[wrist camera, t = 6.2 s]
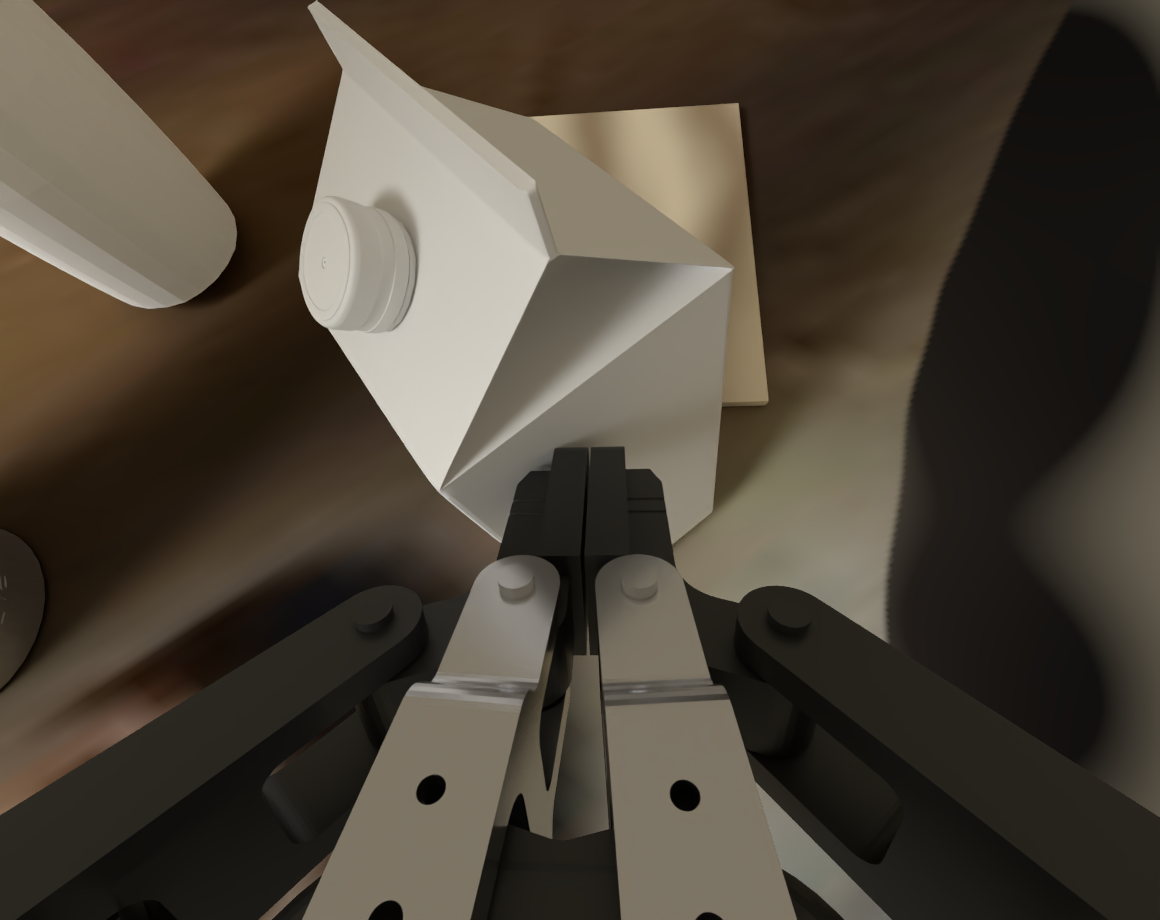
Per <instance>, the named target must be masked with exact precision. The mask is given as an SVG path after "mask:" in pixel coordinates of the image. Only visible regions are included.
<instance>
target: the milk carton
mask: <svg viewBox="0 0 1160 920" xmlns="http://www.w3.org/2000/svg"><path fill="white" fill-rule="evenodd" d="M308 9H309V10H310V12H311V14H312V15H313V17H314V19H315V21H316V23H317V24H318V26H319V28H320V30H321V31H322V33H323V35H324V37H325V39H326V40H327V42H328V44H329V46H330V48H331V49H332V51H333V53H334V55H335V56H336V58H337V60H338V62H339V63H340V65H341V67H342V68H343V71H342V77H341V81H340V85H339V90H338V94H337V99H336V103H335V108H334V113H333V117H332V122H331V126H330V131H329V135H328V140H327V144H326V149H325V154H324V158H323V163H322V167H321V172H320V176H319V181H318V185H317V190H316V194H315V199H314V203H313V208H312V211H311V212H310V215H309V217H308V220H307V222H306V226H305V230H304V233H303V238H302V243H301V251H300V266H299V267H300V268H299V275H298V276H299V280H300V283H301V288H302V292H303V296H304V299H305V302H306V305H307V307H308V309H309V311H310V313H311V315H312V316H313V317H314V318H315V320H316V321H317V322H318V323H320V324H321V325H322V326H324V327H326V328H328V329H329V331H330V332H331V334H332V335H333V337H334V338H335V340H336V341H337V343H338V344H339V346H340V347H341V349H342V351H343V352H344V354H345V355H346V357H347V358H348V360H349V361H350V363H351V364H352V366H353V367H354V369H355V370H356V372H357V373H358V375H359V376H360V378H361V379H362V381H363V382H364V384H365V385H366V387H367V389H368V390H369V392H370V393H371V395H372V396H373V398H374V399H375V401H376V402H377V404H378V405H379V407H380V408H381V410H382V411H383V413H384V414H385V416H386V417H387V419H388V421H389V422H390V424H391V425H392V427H393V428H394V430H395V431H396V433H397V434H398V436H399V437H400V439H401V440H402V442H403V443H404V445H405V446H406V448H407V449H408V451H409V452H410V454H411V455H412V457H413V458H414V460H415V461H416V463H417V464H418V466H419V467H420V468H421V470H422V471H423V473H424V474H425V476H426V477H427V478H428V480H429V481H430V482H431V484H432V485H433V486H434V487H435V489H436V490H437V491H438V492H439V493H440V494H441V495H442V496H443V497H445V498H446V499H447V500H448V501H449V502H450V503H452V504H453V505H454V506H455V507H456V508H458V509H459V510H460V511H461V512H463V513H464V514H465V515H466V516H468V517H469V518H470V519H471V520H473V521H474V522H475V523H476V524H478V525H479V526H480V527H481V528H482V529H484V530H485V531H486V532H487V533H489V534H490V535H491V536H492V537H494V538H495V539H496V540H497V541H499V542H500V543H502V539H503V535H504V532H505V528H506V524H507V521H508V517H509V516H510V510H511V506H512V503H513V499H514V495H515V491H516V488H517V484H518V483H519V482H520V481H521V480H522V479H523V478H524V477H525V476H526V475H527V474H528V473H529V472H530V471H549V470H551V465H552V459H553V454H554V449H555V448H570V447H588V448H589V461H590V454H591V447H615V446H624V447H625V465H626V469H651V471H652V472H653V473H654V474H655V475H656V476H657V477H658V478H659V479H660V480H661V482H662V486H663V492H664V501H665V505H666V514H667V517H668V524H669V530H670V536H671V543H672V544H674V543H675V542H676V541H677V540H679V539H680V538H681V537H682V536H684V535H685V534H686V533H687V532H688V531H690V530H691V529H692V528H693V527H695V526H696V525H697V524H698V523H700V522H701V521H702V520H703V519H704V518H706V517H707V516H708V515H709V514H711V513H712V511H713V502H714V490H715V478H716V466H717V455H718V443H719V431H720V419H721V408H722V396H723V384H724V372H725V360H726V349H727V337H728V325H729V313H730V302H731V290H732V278H733V270H734V266H733V265H731V264H730V263H729V262H728V261H726V260H725V259H724V258H722V257H721V256H720V255H718V254H717V253H716V252H714V251H713V250H712V249H710V248H709V247H708V246H706V245H705V244H704V243H702V242H701V241H700V240H698V239H697V238H695V237H694V236H693V235H691V234H690V233H689V232H687V231H686V230H685V229H683V228H682V227H680V226H679V225H678V224H676V223H675V222H674V221H672V220H671V219H670V218H668V217H667V216H665V215H664V214H663V213H661V212H660V211H659V210H657V209H656V208H655V207H653V206H652V205H650V204H649V203H648V202H646V201H645V200H644V199H642V198H641V197H640V196H638V195H637V194H635V193H634V192H633V191H631V190H630V189H629V188H627V187H626V186H625V185H623V184H622V183H620V182H619V181H618V180H616V179H615V178H614V177H612V176H611V175H610V174H608V173H607V172H605V171H604V170H603V169H601V168H600V167H599V166H597V165H596V164H595V163H593V162H592V161H590V160H589V159H588V158H586V157H585V156H584V155H582V154H581V153H579V152H578V151H577V150H575V149H574V148H573V147H571V146H570V145H569V144H567V143H566V142H564V141H563V140H562V139H560V138H559V137H558V136H556V135H555V134H554V133H552V132H551V131H549V130H548V129H547V128H545V127H544V126H542V125H541V124H540V123H538V122H537V121H535V120H534V119H531V118H528V117H525V116H522V115H518V114H515V113H511V112H508V111H504V110H501V109H498V108H494V107H491V106H487V105H484V104H480V103H477V102H473V101H470V100H467V99H463V98H460V97H456V96H453V95H449V94H446V93H442V92H439V91H436V90H432V89H429V88H425V87H422V86H420V85H419V84H417V83H416V82H415V81H414V80H413V79H411V78H410V77H409V76H408V75H406V74H405V73H404V72H403V71H402V70H400V69H399V68H398V67H397V66H396V65H394V64H393V63H392V62H391V61H389V60H388V59H387V58H386V57H385V56H383V55H382V54H381V53H380V52H379V51H377V50H376V49H375V48H374V47H372V46H371V45H370V44H369V43H368V42H366V41H365V40H364V39H363V38H362V37H360V36H359V35H358V34H357V33H355V32H354V31H353V30H352V29H351V28H349V27H348V26H347V25H346V24H345V23H343V22H342V21H341V20H340V19H339V18H337V17H336V16H335V15H334V14H332V13H331V12H330V11H329V10H328V9H326V8H325V7H324V6H323V5H322V4H320V3H319V2H318V1H317V0H316V1H315V2H314V3H312V4H311V5H309V6H308Z"/></svg>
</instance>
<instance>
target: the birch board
mask: <svg viewBox="0 0 1160 920" xmlns="http://www.w3.org/2000/svg"><path fill="white" fill-rule="evenodd" d="M528 118H531V119H534V120H535V121H537V122H538V123H540V124H541V125H542V126H544V127H545V128H547V129H548V130H549V131H551V132H552V133H554V134H555V135H556V136H558V137H559V138H560V139H562V140H563V141H564V142H566V143H567V144H569V145H570V146H571V147H573V148H574V149H575V150H577V151H578V152H579V153H581V154H582V155H584V156H585V157H586V158H588V159H589V160H590V161H592V162H593V163H595V164H596V165H597V166H599V167H600V168H601V169H603V170H604V171H605V172H607V173H608V174H610V175H611V176H612V177H614V178H615V179H616V180H618V181H619V182H620V183H622V184H623V185H625V186H626V187H627V188H629V189H630V190H631V191H633V192H634V193H635V194H637V195H638V196H640V197H641V198H642V199H644V200H645V201H646V202H648V203H649V204H650V205H652V206H653V207H655V208H656V209H657V210H659V211H660V212H661V213H663V214H664V215H665V216H667V217H668V218H670V219H671V220H672V221H674V222H675V223H676V224H678V225H679V226H680V227H682V228H683V229H685V230H686V231H687V232H689V233H690V234H691V235H693V236H694V237H695V238H697V239H698V240H700V241H701V242H702V243H704V244H705V245H706V246H708V247H709V248H710V249H712V250H713V251H714V252H716V253H717V254H718V255H720V256H721V257H722V258H724V259H725V260H726V261H728V262H729V263H730V264H731V265H733V266H734V270H733V278H732V290H731V302H730V313H729V325H728V337H727V349H726V360H725V372H724V384H723V396H722V407H725V406H760V405H766V404H767V403H768V401H769V399H768V389H767V379H766V369H765V359H764V350H763V340H762V330H761V320H760V310H759V300H758V291H757V281H756V271H755V261H754V251H753V241H752V232H751V222H750V212H749V202H748V192H747V182H746V173H745V163H744V153H743V143H742V133H741V123H740V114H739V104H738V103H733V104H718V105H703V106H688V107H673V108H658V109H643V110H627V111H612V112H597V113H582V114H567V115H552V116H537V117H528Z"/></svg>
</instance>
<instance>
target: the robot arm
mask: <svg viewBox="0 0 1160 920" xmlns="http://www.w3.org/2000/svg"><path fill="white" fill-rule="evenodd" d="M44 603H45V589H44V578H43V575H42V571H41V568H40V564H39V562H38V560H37V558H36V557H35V555H34V553H33V552H32V550H31V548H30V547H29V546H28V545H27V544H25V543H24V542H23V541H22V540H21V539H20V538H19V537H17V536H15V535H14V534H12V533H10V532H8V531H6V530H3V529H0V689H1V688H2V687H3V686H4V685H5V684H6V683H7V682H8V681H9V680H10V679H11V678H12V676H13V675H14V674H15V672H16V671H17V670H18V668H19V667H20V666H21V664H22V663H23V662H24V660H25V658H26V656H27V655H28V653H29V651H30V649H31V647H32V645H33V643H34V641H35V639H36V636H37V633H38V630H39V627H40V624H41V621H42V616H43V609H44ZM588 627H589V644H590V655H598V656H599V676H600V700H601V714H602V729H603V744H604V758H605V773H606V788H607V802H608V818H609V829H608V830H604V831H601V832H597V833H593V834H589V835H586V836H582V837H578V838H575V839H571V840H565V841H560V840H554V839H552V816H553V804H554V797H555V790H556V784H557V777H558V771H559V764H560V758H561V751H562V745H563V739H564V732H565V726H566V719H567V713H568V706H569V700H570V682H571V678H572V669H573V655H586V654H587V631H588ZM353 707H356V710H357V711H356V712H355V713H354V714H352V715H351V716H350V717H348V718H347V719H346V720H345V721H343V722H342V723H341V724H339V725H338V726H337V727H336V728H334V729H333V730H332V731H330V732H329V733H328V734H326V735H325V736H324V737H323V738H321V739H320V740H319V741H317V742H316V743H315V744H314V745H312V746H311V747H310V748H308V749H307V750H306V751H305V752H303V753H302V754H301V755H299V756H298V757H297V758H295V759H294V760H293V761H292V762H290V763H289V764H288V765H286V766H285V767H284V768H283V769H281V770H280V771H278V772H277V773H275V774H273V775H271V776H269V775H270V774H271V773H272V771H273V770H274V769H275V768H276V767H277V766H278V765H279V764H280V763H282V762H283V761H284V760H285V759H287V758H288V757H289V756H291V755H292V754H293V753H294V752H296V751H297V750H298V749H300V748H301V747H302V746H304V745H305V744H306V743H308V742H309V741H310V740H311V739H313V738H314V737H315V736H317V735H318V734H319V733H321V732H322V731H323V730H325V729H326V728H327V727H328V726H330V725H331V724H332V723H334V722H335V721H336V720H338V719H339V718H340V717H342V716H343V715H344V714H345V713H347V712H348V711H349V710H351V709H352V708H353ZM268 776H269V777H268ZM755 782H756V783H757V784H758V785H759V786H760V787H761V788H762V789H763V790H764V791H765V792H766V793H767V794H768V795H769V796H770V797H771V798H772V799H773V800H774V801H775V802H776V803H777V804H778V805H779V806H780V807H781V808H782V809H783V810H784V811H785V812H786V813H787V814H788V815H789V816H790V817H791V818H792V819H793V820H794V821H795V822H796V823H797V824H798V825H799V826H800V827H801V828H802V829H803V830H804V831H805V832H806V833H807V834H808V835H809V836H810V837H811V838H812V839H813V840H814V841H815V842H816V843H817V844H818V845H819V846H820V847H821V848H822V849H823V850H824V851H825V852H826V853H827V854H828V855H829V856H830V857H831V858H832V859H833V860H834V861H835V862H836V863H837V864H838V865H839V866H840V867H841V868H842V869H843V870H844V871H845V872H846V873H847V875H848V876H849V877H850V878H851V879H852V880H853V881H854V882H855V883H856V884H857V885H858V886H859V887H860V888H861V889H862V890H863V891H864V892H865V893H866V894H867V895H868V896H869V897H870V898H871V899H872V900H873V901H874V902H875V903H876V904H877V905H878V906H879V907H880V908H881V909H882V910H883V911H884V912H885V913H886V914H887V915H888V916H889V917H890V918H891V919H892V920H1160V817H1158V816H1156V815H1155V814H1153V813H1152V812H1150V811H1149V810H1147V809H1146V808H1144V807H1143V806H1141V805H1139V804H1138V803H1136V802H1135V801H1133V800H1132V799H1130V798H1128V797H1127V796H1125V795H1124V794H1122V793H1121V792H1119V791H1117V790H1116V789H1114V788H1113V787H1111V786H1110V785H1108V784H1107V783H1105V782H1103V781H1102V780H1100V779H1099V778H1097V777H1096V776H1094V775H1093V774H1091V773H1089V772H1088V771H1086V770H1085V769H1083V768H1082V767H1080V766H1078V765H1077V764H1075V763H1074V762H1072V761H1071V760H1069V759H1068V758H1066V757H1064V756H1063V755H1061V754H1060V753H1058V752H1057V751H1055V750H1053V749H1052V748H1050V747H1049V746H1047V745H1046V744H1044V743H1042V742H1041V741H1039V740H1038V739H1036V738H1034V737H1033V736H1031V735H1030V734H1028V733H1027V732H1025V731H1024V730H1022V729H1021V728H1019V727H1018V726H1016V725H1014V724H1013V723H1011V722H1010V721H1008V720H1007V719H1005V718H1003V717H1002V716H1000V715H999V714H997V713H996V712H994V711H993V710H991V709H989V708H988V707H986V706H985V705H983V704H981V703H980V702H978V701H977V700H975V699H974V698H972V697H971V696H969V695H967V694H966V693H964V692H963V691H961V690H960V689H958V688H957V687H955V686H953V685H952V684H950V683H949V682H947V681H945V680H944V679H943V678H941V677H939V676H938V675H936V674H935V673H933V672H932V671H930V670H928V669H927V668H925V667H924V666H922V665H921V664H919V663H917V662H916V661H914V660H913V659H911V658H910V657H908V656H907V655H905V654H903V653H902V652H900V651H899V650H897V649H895V648H894V647H893V646H891V645H889V644H888V643H886V642H885V641H883V640H882V639H880V638H878V637H877V636H875V635H874V634H872V633H871V632H869V631H868V630H866V629H864V628H863V627H861V626H860V625H858V624H857V623H855V622H853V621H852V620H850V619H849V618H847V617H846V616H844V615H842V614H841V613H839V612H838V611H836V610H835V609H833V608H832V607H830V606H828V605H827V604H825V603H824V602H822V601H821V600H819V599H817V598H816V597H814V596H812V595H810V594H808V593H806V592H804V591H801V590H798V589H795V588H790V587H785V586H766V587H761V588H758V589H755V590H753V591H751V592H749V593H748V594H747V595H745V596H744V597H743V599H742V600H741V601H740V603H736V602H732V601H728V600H724V599H720V598H716V597H713V596H709V595H707V594H705V593H702V592H700V591H698V590H697V589H695V588H693V587H692V586H691V585H689V584H688V583H687V582H686V581H685V580H684V579H683V578H682V576H681V575H680V573H679V572H678V570H677V569H676V566H675V562H674V555H673V549H672V543H671V536H670V530H669V524H668V517H667V514H666V505H665V501H664V492H663V486H662V482H661V480H660V479H659V478H658V477H657V476H656V475H655V474H654V473H653V472H652V471H651V469H626V465H625V447H624V446H615V447H591V454H590V461H589V448H588V447H570V448H555V449H554V454H553V459H552V465H551V470H549V471H530V472H529V473H528V474H527V475H526V476H525V477H524V478H523V479H522V480H521V481H520V482H519V483H518V484H517V488H516V491H515V495H514V499H513V503H512V506H511V510H510V516H509V517H508V521H507V524H506V528H505V532H504V535H503V539H502V543H501V546H500V550H499V554H498V557H497V561H496V562H494V563H492V564H490V565H489V566H487V567H486V568H485V569H484V570H483V571H481V573H480V574H479V575H478V576H477V578H476V580H475V582H474V584H473V587H472V589H471V591H469V592H468V593H465V594H463V595H460V596H458V597H454V598H451V599H447V600H443V601H439V602H435V603H431V604H427V605H423V606H422V604H421V600H420V599H419V597H418V595H417V594H416V593H415V592H413V591H412V590H410V589H408V588H405V587H401V586H392V585H389V586H380V587H375V588H372V589H368V590H365V591H363V592H361V593H359V594H357V595H355V596H353V597H351V598H350V599H348V600H346V601H345V602H343V603H342V604H340V605H338V606H337V607H335V608H334V609H332V610H330V611H329V612H327V613H326V614H324V615H322V616H321V617H319V618H317V619H316V620H314V621H313V622H311V623H309V624H308V625H306V626H305V627H303V628H301V629H300V630H298V631H297V632H295V633H293V634H292V635H290V636H288V637H287V638H285V639H284V640H282V641H280V642H279V643H277V644H276V645H274V646H272V647H271V648H269V649H268V650H266V651H264V652H263V653H261V654H259V655H258V656H256V657H255V658H253V659H251V660H250V661H248V662H247V663H245V664H243V665H242V666H240V667H239V668H237V669H235V670H234V671H232V672H230V673H229V674H227V675H226V676H224V677H222V678H221V679H219V680H218V681H216V682H214V683H213V684H211V685H210V686H208V687H206V688H205V689H203V690H201V691H200V692H198V693H197V694H195V695H193V696H192V697H190V698H189V699H187V700H185V701H184V702H182V703H181V704H179V705H177V706H176V707H174V708H172V709H171V710H169V711H168V712H166V713H164V714H163V715H161V716H160V717H158V718H156V719H155V720H153V721H152V722H150V723H148V724H147V725H145V726H143V727H142V728H140V729H139V730H137V731H135V732H134V733H132V734H131V735H129V736H127V737H126V738H124V739H123V740H121V741H119V742H118V743H116V744H114V745H113V746H111V747H110V748H108V749H106V750H105V751H103V752H102V753H100V754H98V755H97V756H95V757H94V758H92V759H90V760H89V761H87V762H86V763H84V764H82V765H81V766H79V767H77V768H76V769H74V770H73V771H71V772H69V773H68V774H66V775H65V776H63V777H61V778H60V779H58V780H57V781H55V782H53V783H52V784H50V785H48V786H47V787H45V788H44V789H42V790H40V791H39V792H37V793H36V794H34V795H32V796H31V797H29V798H28V799H26V800H24V801H23V802H21V803H19V804H18V805H16V806H15V807H13V808H11V809H10V810H8V811H7V812H5V813H3V814H2V815H0V920H258V919H259V918H260V917H261V916H263V915H264V914H265V913H266V912H267V911H268V910H269V909H270V908H271V907H272V906H273V905H274V904H276V903H277V902H278V901H279V900H280V899H281V898H282V897H283V896H284V895H285V894H286V893H287V892H288V891H290V890H291V889H292V888H293V887H294V886H295V885H296V884H297V883H298V882H299V881H300V880H301V879H302V878H304V877H305V876H306V875H307V874H308V873H309V872H310V871H311V870H312V869H313V868H314V867H315V866H317V865H318V864H319V863H320V862H321V861H322V860H323V859H324V858H325V857H326V856H327V855H328V854H329V853H331V852H332V851H333V850H334V851H333V853H332V855H331V857H330V860H329V862H328V864H327V866H326V868H325V871H324V873H323V875H322V876H321V877H319V878H318V879H317V880H315V881H314V882H313V883H312V884H311V885H309V886H308V887H307V888H306V889H304V890H303V891H302V892H301V893H300V894H298V895H297V896H296V897H295V898H294V899H293V900H292V901H291V902H290V903H289V904H288V905H287V906H286V907H285V908H284V909H283V910H281V911H280V912H279V913H278V914H277V915H276V916H275V917H274V918H273V919H272V920H844V919H843V918H842V917H841V916H840V915H839V914H838V913H837V912H836V911H835V910H834V909H833V908H832V907H831V906H829V905H828V904H827V903H826V902H825V901H824V900H823V899H822V898H821V897H820V896H819V895H818V894H817V893H815V892H814V891H813V890H811V889H810V888H809V887H807V886H806V885H805V884H803V883H802V882H801V881H800V880H798V879H797V878H796V877H794V876H792V875H791V874H789V873H788V872H786V871H784V870H783V869H781V866H780V862H779V859H778V856H777V852H776V849H775V846H774V843H773V839H772V836H771V833H770V829H769V826H768V823H767V819H766V816H765V813H764V810H763V806H762V803H761V800H760V796H759V793H758V790H757V787H756V783H755Z"/></svg>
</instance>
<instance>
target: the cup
mask: <svg viewBox="0 0 1160 920" xmlns="http://www.w3.org/2000/svg"><path fill="white" fill-rule="evenodd" d="M0 236H1V237H3V238H5V239H7V240H8V241H10V242H12V243H14V244H16V245H17V246H19V247H21V248H23V249H24V250H26V251H28V252H30V253H32V254H33V255H35V256H37V257H39V258H41V259H42V260H44V261H46V262H48V263H50V264H52V265H54V266H56V267H57V268H59V269H61V270H63V271H65V272H67V273H69V274H71V275H73V276H74V277H76V278H78V279H80V280H82V281H84V282H86V283H88V284H89V285H91V286H93V287H95V288H97V289H99V290H101V291H103V292H105V293H107V294H109V295H111V296H113V297H115V298H117V299H119V300H121V301H124V302H126V303H128V304H130V305H132V306H137V307H142V308H148V309H152V308H165V307H170V306H174V305H177V304H181V303H185V302H187V301H188V300H190V299H192V298H193V297H195V296H197V295H198V294H200V293H201V292H203V291H204V290H205V289H206V288H207V287H209V286H210V285H211V284H212V283H213V282H214V281H215V280H217V278H218V277H219V276H220V274H221V273H222V272H223V270H224V269H225V268H226V266H227V265H228V263H229V261H230V259H231V257H232V255H233V253H234V250H235V247H236V238H237V230H236V223H235V218H234V216H233V214H232V212H231V210H230V208H229V206H228V205H227V204H226V203H225V201H224V200H223V199H222V198H221V197H220V196H219V194H218V193H217V192H216V191H215V190H214V188H213V187H212V186H211V185H210V184H209V183H208V182H207V180H206V179H205V178H204V177H203V176H202V175H201V174H200V173H199V171H198V170H197V169H196V168H195V167H194V166H193V165H192V164H191V163H190V161H189V160H188V159H187V158H186V157H185V156H184V155H183V154H182V152H181V151H180V150H179V149H178V148H177V147H176V146H175V145H174V144H173V143H172V142H171V140H170V139H169V138H168V137H167V136H166V135H165V134H164V133H163V132H162V131H161V130H160V129H159V128H158V127H157V126H156V124H155V123H154V122H153V121H152V120H151V119H150V118H149V117H148V116H147V115H146V114H145V113H144V112H143V111H142V109H141V108H140V107H139V106H138V105H137V104H136V103H135V102H134V101H133V100H132V99H131V98H130V97H129V96H128V95H127V94H126V93H125V92H124V91H123V90H122V89H121V88H120V87H119V86H118V85H117V84H116V83H115V82H114V81H113V79H112V78H111V77H110V76H109V75H108V74H107V73H106V72H105V71H104V70H103V69H102V68H101V67H100V66H99V65H98V64H97V63H96V62H95V61H94V60H93V59H92V58H91V57H90V56H89V55H88V54H87V53H86V52H85V51H84V50H83V49H82V48H81V47H80V46H79V45H78V44H77V43H76V42H75V41H74V40H73V39H72V38H71V37H70V36H69V35H68V34H67V33H66V32H65V31H64V30H62V29H61V28H60V27H59V26H58V25H57V24H56V23H55V22H54V21H53V20H52V19H51V18H50V17H49V16H48V15H47V14H46V13H45V12H44V11H43V10H42V9H41V8H40V7H39V6H38V5H37V4H36V3H35V2H33V1H32V0H0Z"/></svg>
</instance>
